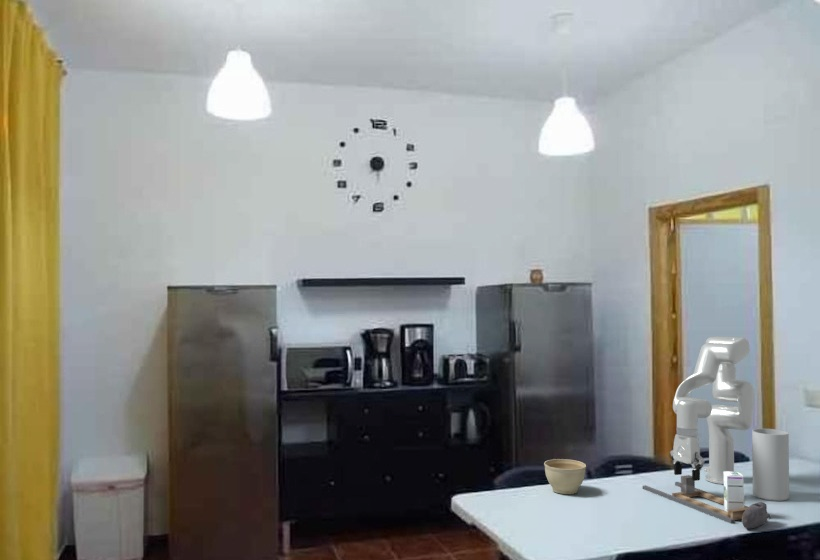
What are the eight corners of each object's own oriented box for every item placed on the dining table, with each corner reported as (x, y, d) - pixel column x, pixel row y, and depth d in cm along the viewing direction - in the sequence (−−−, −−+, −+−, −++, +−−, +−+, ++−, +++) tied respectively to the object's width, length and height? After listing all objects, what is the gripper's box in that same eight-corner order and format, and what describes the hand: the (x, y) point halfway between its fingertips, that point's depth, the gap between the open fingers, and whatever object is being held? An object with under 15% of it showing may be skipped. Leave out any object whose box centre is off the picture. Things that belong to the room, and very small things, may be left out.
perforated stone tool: (750, 533, 233) (750, 511, 233) (735, 529, 237) (735, 507, 237) (772, 523, 242) (772, 503, 242) (756, 520, 246) (756, 499, 246)
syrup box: (745, 517, 249) (744, 475, 249) (727, 516, 250) (726, 474, 250) (740, 512, 254) (740, 471, 255) (723, 511, 256) (722, 470, 256)
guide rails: (642, 488, 285) (642, 485, 285) (678, 484, 291) (678, 481, 291) (730, 523, 242) (730, 519, 242) (770, 517, 248) (770, 514, 248)
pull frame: (671, 496, 273) (671, 477, 273) (698, 493, 277) (698, 474, 278) (732, 520, 244) (732, 498, 244) (761, 516, 249) (761, 494, 249)
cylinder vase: (793, 496, 274) (792, 431, 275) (783, 503, 265) (783, 436, 265) (758, 490, 283) (758, 427, 283) (748, 497, 273) (747, 431, 274)
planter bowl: (540, 494, 277) (540, 466, 277) (548, 484, 292) (548, 457, 292) (582, 499, 271) (582, 470, 271) (588, 488, 286) (588, 461, 286)
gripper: (663, 429, 281) (663, 473, 280) (695, 436, 265) (695, 483, 264) (679, 428, 283) (678, 471, 283) (711, 436, 267) (711, 482, 267)
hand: (686, 477), depth 273 cm, fingers open, 9 cm apart
